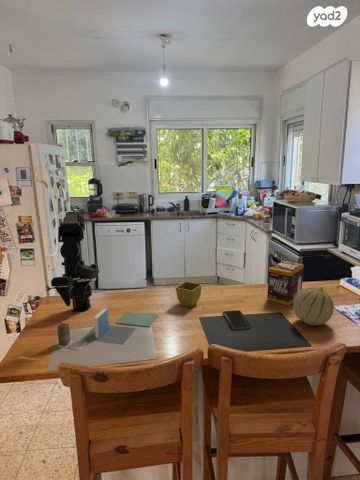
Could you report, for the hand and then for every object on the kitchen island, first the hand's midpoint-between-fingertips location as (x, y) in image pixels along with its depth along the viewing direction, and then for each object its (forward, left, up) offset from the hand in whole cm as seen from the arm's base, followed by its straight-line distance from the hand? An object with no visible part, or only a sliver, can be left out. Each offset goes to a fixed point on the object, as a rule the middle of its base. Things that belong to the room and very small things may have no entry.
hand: (75, 303), depth 116 cm
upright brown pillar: (-1, -2, -15) cm, 16 cm away
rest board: (+14, +21, -15) cm, 29 cm away
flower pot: (+31, +41, -15) cm, 53 cm away
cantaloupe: (+82, +34, -15) cm, 90 cm away
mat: (+8, +8, -15) cm, 19 cm away
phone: (+53, +30, -16) cm, 63 cm away
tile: (+5, +8, -15) cm, 17 cm away
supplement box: (+73, +58, -15) cm, 94 cm away
